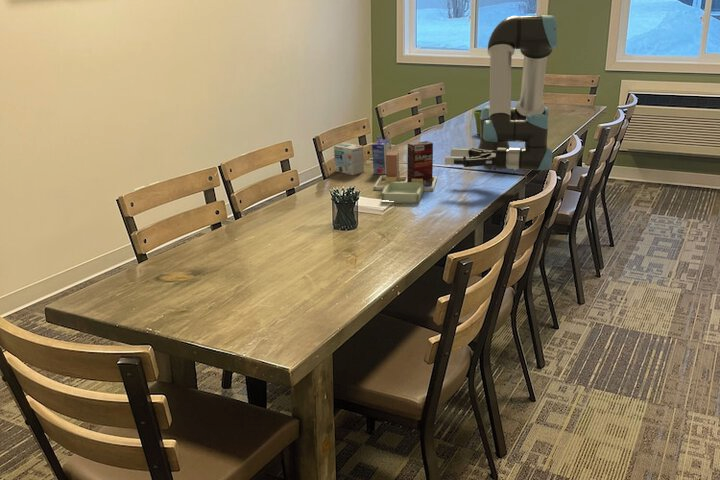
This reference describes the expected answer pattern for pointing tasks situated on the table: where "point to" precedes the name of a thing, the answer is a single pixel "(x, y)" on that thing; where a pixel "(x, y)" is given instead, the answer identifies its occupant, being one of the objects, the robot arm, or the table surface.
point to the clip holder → (394, 179)
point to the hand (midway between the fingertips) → (448, 156)
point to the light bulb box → (349, 158)
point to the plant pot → (478, 119)
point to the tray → (403, 192)
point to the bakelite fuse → (392, 164)
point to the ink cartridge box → (380, 155)
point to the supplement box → (420, 162)
